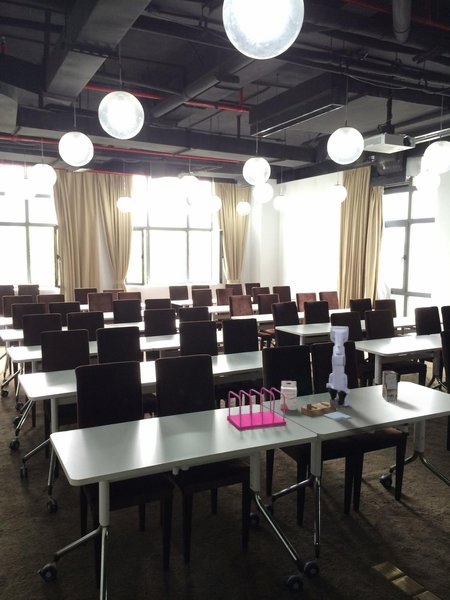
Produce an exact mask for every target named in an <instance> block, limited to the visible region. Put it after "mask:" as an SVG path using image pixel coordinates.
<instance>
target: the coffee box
mask: <svg viewBox="0 0 450 600" xmlns="http://www.w3.org/2000/svg"><path fill="white" fill-rule="evenodd" d="M381 388H382V392H381V393H382V395H381V397H383V398H384V400H385V401H386V402H387V401H396V403H397V402H398V395H399V394H398V393H399V392H398V391H399V389H398V388H399V373H398V372H396V371H394V370H383V371H382V385H381ZM383 398H382V399H383Z"/></svg>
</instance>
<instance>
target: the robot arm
mask: <svg viewBox="0 0 450 600" xmlns="http://www.w3.org/2000/svg"><path fill="white" fill-rule="evenodd" d="M329 329H330V331H329V332H330V333H329V336H330V341H331V342H333V343H334V346H333V349H332V350H333V351H332V352H333V353H332V357H331V364H332V373H330V374H329V378H328V383H326V388H329V389H327V391H328V393H329V396H330V399H334V398H337V397H339V405H340V406H341V405H343V403H344V400H345V406H343V407H348V406H350V403H349V401H350V400H349V395H350V394H351V390H350V388H348V375H347V374H346V373H345V366H346V354H345V346H344V343H346V342H348V340H349V326H339V325H336V326H335V325H334V326H333V325H331V326H330V328H329ZM343 407H342V408H343Z"/></svg>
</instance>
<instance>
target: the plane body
mask: <svg viewBox="0 0 450 600" xmlns="http://www.w3.org/2000/svg"><path fill="white" fill-rule="evenodd" d="M333 412H337V408H334V407H332V406H330V402H328V401H321V402H317V403H314V404H312V403H311V402H307V403H306V405H305V406H304V405H303V406H301V407H300V413H301V414H304V415H306V416H308V417H315V416H316V417H317V416H321V415H324V414H329V413H333Z"/></svg>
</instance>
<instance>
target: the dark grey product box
mask: <svg viewBox="0 0 450 600" xmlns="http://www.w3.org/2000/svg"><path fill="white" fill-rule="evenodd" d="M329 403H330V406H332V407H334V408H336V409H339V408H343V406H344V407H346V406H345V400H344V403H343V405H341V406H340V405H339V397H337V398H334V399H331V398H330V399H329Z"/></svg>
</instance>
